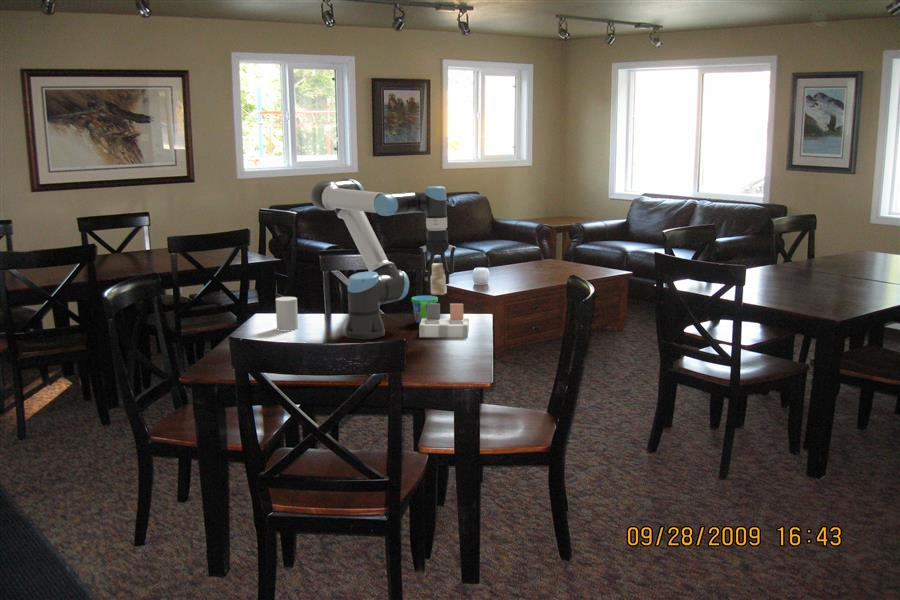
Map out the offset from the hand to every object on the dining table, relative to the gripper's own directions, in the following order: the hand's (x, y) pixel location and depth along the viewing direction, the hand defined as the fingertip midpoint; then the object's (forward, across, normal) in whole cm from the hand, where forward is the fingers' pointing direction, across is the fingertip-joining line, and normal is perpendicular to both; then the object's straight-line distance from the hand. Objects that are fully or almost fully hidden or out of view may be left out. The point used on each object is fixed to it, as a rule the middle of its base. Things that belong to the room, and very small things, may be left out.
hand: (438, 292), depth 309 cm
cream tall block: (0, 0, 0) cm, 0 cm away
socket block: (+17, +1, +8) cm, 19 cm away
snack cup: (+17, -10, +26) cm, 33 cm away
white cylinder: (+16, -62, +11) cm, 65 cm away
